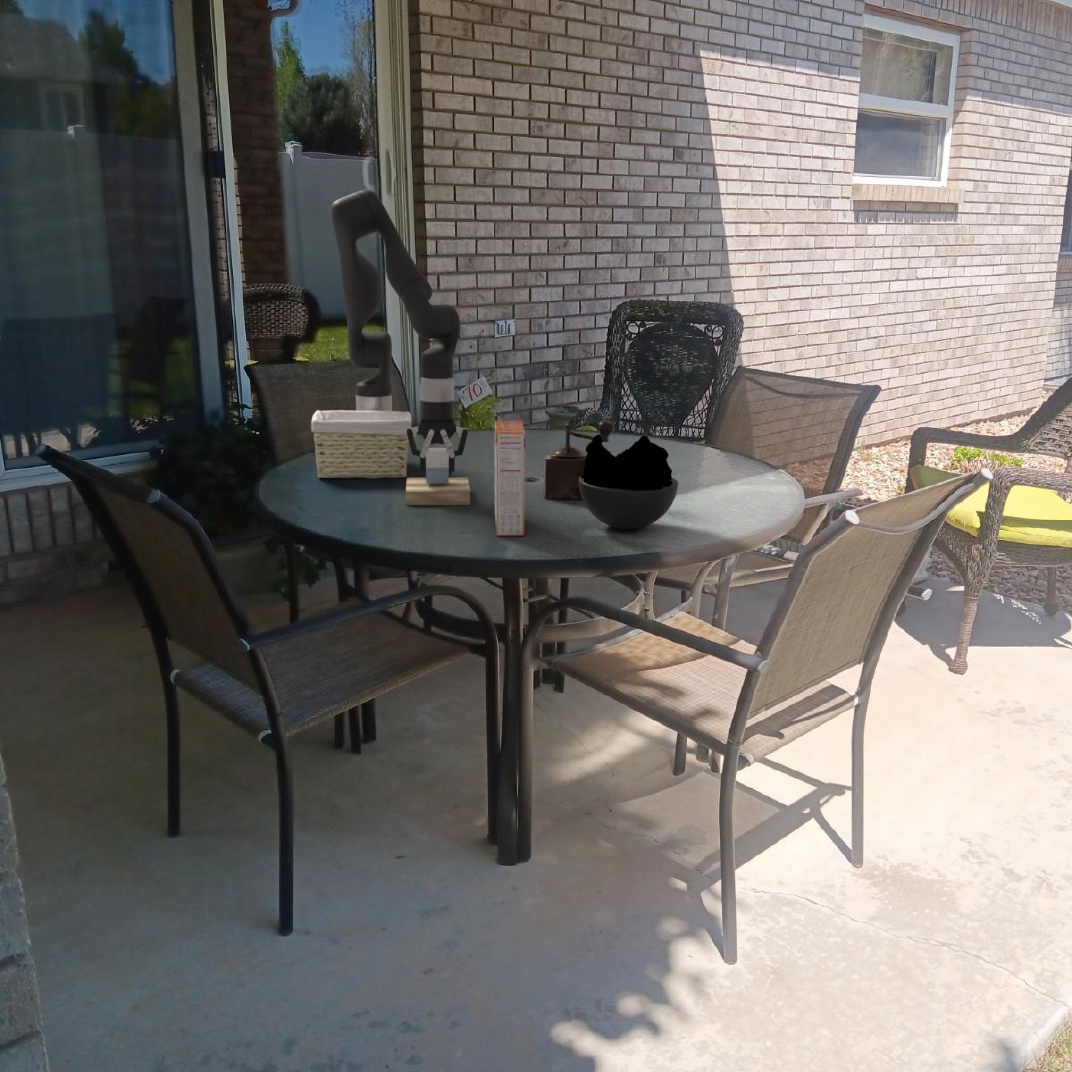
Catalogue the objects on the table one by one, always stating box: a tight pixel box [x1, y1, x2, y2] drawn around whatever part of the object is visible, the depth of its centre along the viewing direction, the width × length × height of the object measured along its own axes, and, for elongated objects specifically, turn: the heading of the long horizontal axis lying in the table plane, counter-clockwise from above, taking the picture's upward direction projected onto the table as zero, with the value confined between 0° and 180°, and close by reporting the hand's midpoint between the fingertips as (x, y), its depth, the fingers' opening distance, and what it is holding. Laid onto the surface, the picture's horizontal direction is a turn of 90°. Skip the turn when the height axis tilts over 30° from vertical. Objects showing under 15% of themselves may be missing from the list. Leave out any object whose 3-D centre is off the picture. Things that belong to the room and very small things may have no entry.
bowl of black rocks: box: [579, 434, 679, 531], centre depth 206 cm, size 20×20×19 cm
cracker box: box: [493, 419, 526, 537], centre depth 204 cm, size 14×6×21 cm, turn 3°
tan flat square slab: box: [405, 477, 471, 506], centre depth 230 cm, size 14×14×3 cm
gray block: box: [425, 447, 450, 483], centre depth 229 cm, size 5×6×7 cm
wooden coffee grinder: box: [542, 419, 616, 501], centre depth 233 cm, size 16×11×18 cm
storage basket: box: [310, 409, 412, 479], centre depth 252 cm, size 24×16×15 cm
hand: (437, 473), depth 229 cm, fingers closed on gray block, 5 cm apart
